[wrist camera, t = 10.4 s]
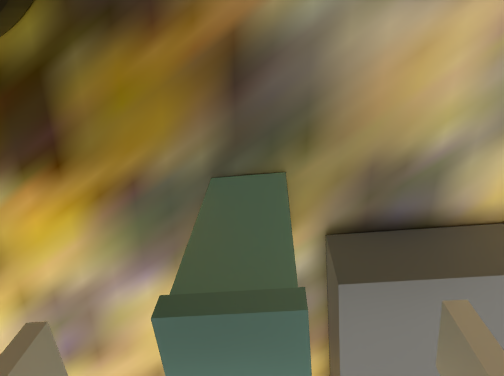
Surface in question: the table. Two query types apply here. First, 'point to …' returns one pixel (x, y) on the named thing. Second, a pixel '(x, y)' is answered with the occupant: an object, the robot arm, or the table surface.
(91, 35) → the table surface
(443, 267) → the socket
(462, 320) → the robot arm
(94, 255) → the table surface
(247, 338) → the plug
